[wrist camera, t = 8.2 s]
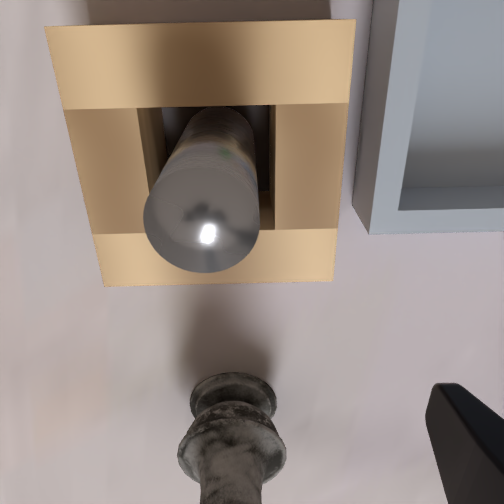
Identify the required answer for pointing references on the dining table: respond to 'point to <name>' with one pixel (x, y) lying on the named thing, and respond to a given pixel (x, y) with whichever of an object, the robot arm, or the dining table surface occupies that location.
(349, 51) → the square wooden frame
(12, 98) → the dining table surface
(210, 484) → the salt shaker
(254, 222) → the pin
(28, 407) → the dining table surface
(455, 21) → the tray
